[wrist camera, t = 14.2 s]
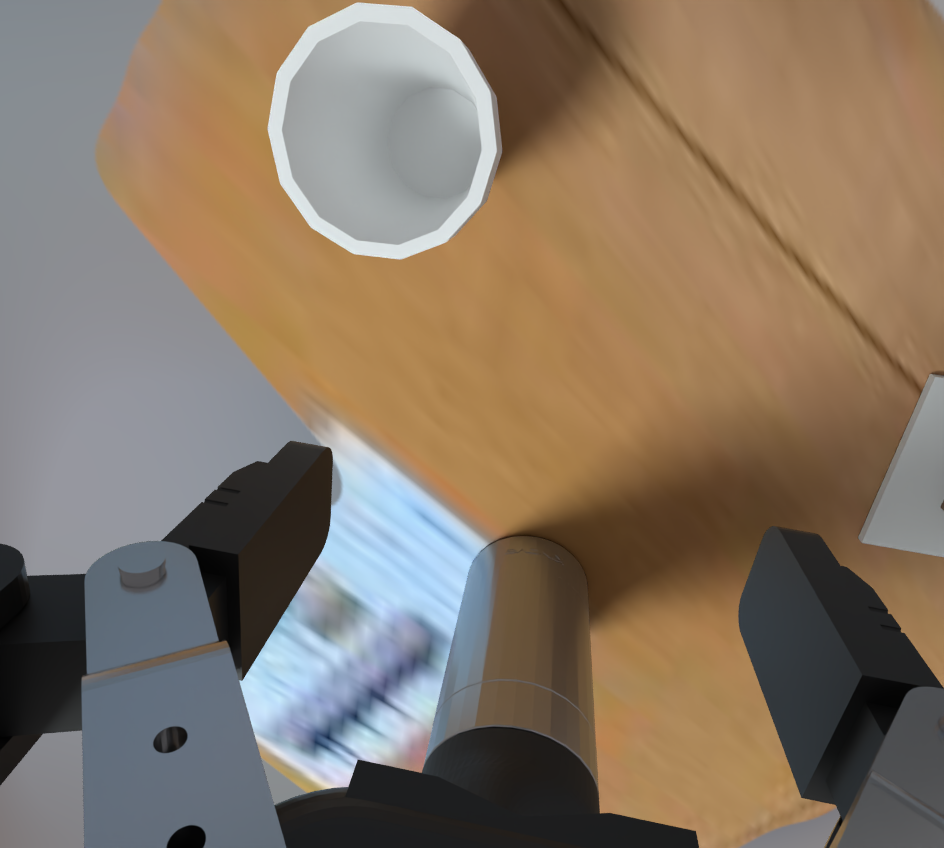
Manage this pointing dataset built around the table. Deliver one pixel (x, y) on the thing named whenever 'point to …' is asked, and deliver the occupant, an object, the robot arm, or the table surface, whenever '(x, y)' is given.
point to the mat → (914, 483)
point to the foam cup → (384, 130)
